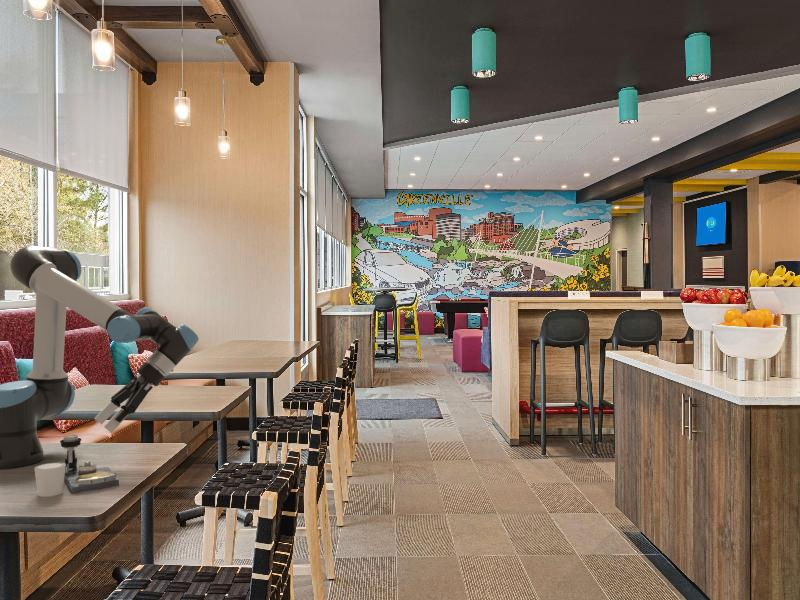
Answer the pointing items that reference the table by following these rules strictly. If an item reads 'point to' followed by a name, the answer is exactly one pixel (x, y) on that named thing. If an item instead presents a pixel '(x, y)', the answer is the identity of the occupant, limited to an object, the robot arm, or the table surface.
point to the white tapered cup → (50, 479)
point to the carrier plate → (90, 478)
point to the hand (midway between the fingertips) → (102, 425)
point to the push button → (70, 451)
